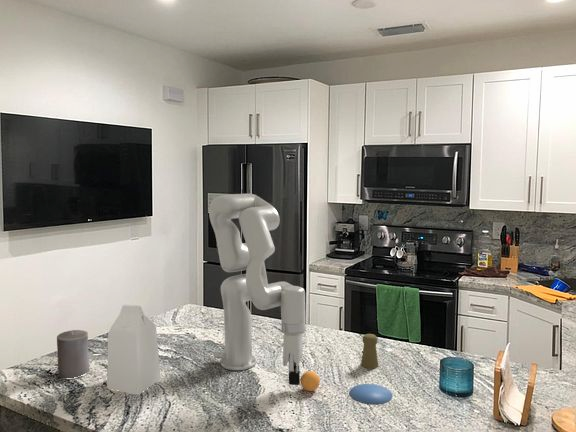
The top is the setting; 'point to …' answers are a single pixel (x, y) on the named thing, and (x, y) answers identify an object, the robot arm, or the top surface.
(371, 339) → the olive chess pawn
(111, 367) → the milk
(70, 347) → the pillar candle
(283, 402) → the top surface
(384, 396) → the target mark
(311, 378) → the ball
